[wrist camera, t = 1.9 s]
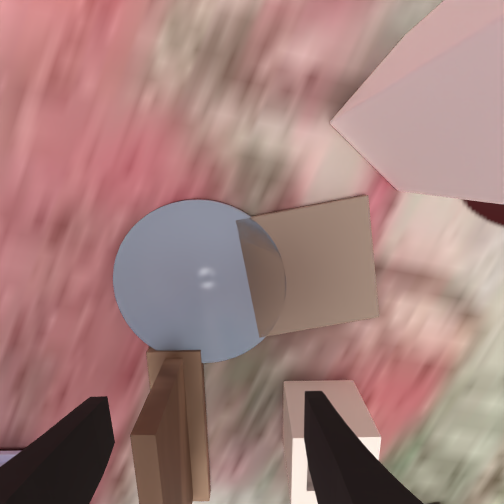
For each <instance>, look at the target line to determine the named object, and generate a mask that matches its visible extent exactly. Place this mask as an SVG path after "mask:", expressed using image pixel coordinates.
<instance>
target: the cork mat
mask: <svg viewBox="0 0 504 504" xmlns="http://www.w3.org/2000/svg"><path fill="white" fill-rule="evenodd" d="M249 219H251V220H254V222H255V223H256V222H257V223H258V225H260V226H261V227H262V228H263V229H264V230H265V232H267V233H265V234H264V233H263V231H262V230H263V229H262V230H261V229H260V230H261V231H262V233H263V234H262V233H261V231H259V229H258V228H257V230H258V232H260V233H257V234H258V235H257V234H256V233H255V231H254V230H255V228H256V227H258V226H255V228H253V229H254V230H252V229H251V230H252V231H250V230H249V231H250V234H251V235H250V234H249V231H247V230H248V229H249V227H250V228H251V227H252V226H253V224H254V223H253V224H251V225H252V226H251V225H249V226H246V227H247V228H246V227H244V226H245V225H246V224H244V223H243V224H242V223H241V220H242V219H241V220H239V221H240V222H239V221H237V220H236V221H237V222H238V223H237V222H236V224H237V226H238V225H239V223H240V225H239V226H238V227H241V229H242V228H243V227H244V228H243V229H244V230H245V228H246V231H243V232H241V231H242V230H243V229H242V230H241V229H240V228H238V227H237V229H238V230H241V231H240V232H241V233H240V234H241V236H242V234H245V232H246V235H247V234H249V235H248V236H247V237H249V240H248V239H246V238H247V237H244V236H246V235H243V237H241V236H240V235H239V239H240V240H242V242H240V244H241V249H243V248H244V249H245V250H244V249H243V250H242V254H243V259H244V264H245V265H247V266H245V269H246V272H247V273H249V272H250V271H251V272H250V274H247V273H246V274H247V279H248V284H249V289H250V293H251V299H252V304H254V305H253V308H254V310H255V309H256V312H255V311H254V313H255V318H256V323H257V322H258V323H257V328H258V333H259V334H260V335H259V338H261V337H266V336H272V335H278V334H284V333H290V332H295V331H301V330H307V329H313V328H319V327H324V326H330V325H336V324H342V323H348V322H353V321H359V320H365V319H371V318H377V317H379V308H378V298H377V287H376V276H375V265H374V254H373V243H372V232H371V221H370V210H369V199H368V195H361V196H356V197H351V198H345V199H340V200H335V201H330V202H324V203H319V204H314V205H308V206H303V207H298V208H292V209H287V210H282V211H276V212H271V213H266V214H260V215H255V216H251V218H249ZM245 221H246V220H244V222H245ZM249 221H250V220H249ZM249 223H250V222H249ZM241 224H242V225H244V226H242V225H241ZM247 224H248V221H247ZM254 225H255V224H254ZM259 228H260V227H259ZM247 232H248V233H247ZM252 232H254V234H256V235H252V234H253V233H252ZM256 232H257V231H256ZM259 234H261V235H259ZM266 234H269V236H270V237H271V239H272V241H273V242H274V243H275V244H274V245H276V247H277V249H278V250H277V251H276V250H275V249H276V247H275V248H274V247H273V246H274V245H273V246H272V244H271V243H270V242H271V241H270V239H269V238H268V239H267V238H264V237H265V236H266ZM262 235H264V237H263V236H262ZM258 236H259V237H260V236H261V237H260V238H261V239H260V238H259V237H258ZM267 236H268V235H267ZM267 236H266V237H267ZM240 237H241V238H243V239H241V238H240ZM256 237H258V238H256ZM262 237H263V238H264V239H266V240H265V242H264V240H263V238H262ZM244 238H245V239H244ZM250 238H251V239H250ZM252 239H253V240H252ZM254 239H256V240H254ZM257 239H258V240H257ZM246 240H247V241H246ZM259 240H260V241H259ZM261 240H263V242H262V241H261ZM267 240H268V241H269V243H270V244H269V243H268V244H267ZM244 241H245V243H244ZM248 241H250V242H252V241H253V242H255V244H254V243H253V244H252V243H250V242H248ZM256 241H257V242H256ZM260 242H262V243H261V244H260ZM257 243H259V245H258V244H257ZM256 245H258V246H256ZM263 245H264V246H263ZM266 245H267V246H266ZM248 247H249V248H248ZM250 247H251V248H250ZM261 247H264V248H261ZM270 247H273V249H274V250H275V252H274V251H272V250H273V249H272V248H270ZM265 248H266V249H265ZM269 248H270V249H269ZM267 249H268V250H269V251H268V250H267ZM271 249H272V250H271ZM252 250H253V251H254V252H253V251H252ZM249 251H250V252H249ZM278 251H279V253H280V254H278ZM244 254H245V255H244ZM252 254H253V255H252ZM258 254H259V255H258ZM246 256H247V257H246ZM258 258H259V259H258ZM281 258H282V259H281ZM247 259H248V260H247ZM265 259H266V260H265ZM272 259H273V260H272ZM280 259H281V260H280ZM245 261H246V262H245ZM248 265H249V266H248ZM246 267H247V268H246ZM255 267H256V268H255ZM283 267H284V268H283ZM254 268H255V269H254ZM284 271H285V272H284ZM263 274H264V275H263ZM254 275H255V277H254ZM285 277H286V278H285ZM250 278H251V279H250ZM252 278H253V279H252ZM284 280H286V281H284ZM253 283H254V284H253ZM256 283H257V284H256ZM255 284H256V285H255ZM264 287H265V288H264ZM252 289H255V290H253V291H252ZM285 289H286V290H285ZM251 291H252V292H251ZM254 291H255V292H254ZM261 292H262V293H261ZM256 296H257V297H256ZM284 298H285V299H284ZM260 299H261V300H260ZM265 300H266V301H265ZM255 301H256V302H255ZM270 304H271V305H270ZM261 311H262V312H261ZM261 313H262V314H261ZM268 313H269V314H268ZM260 319H261V320H260ZM276 320H277V321H276ZM267 327H268V328H267ZM271 327H272V328H271ZM262 328H263V329H262ZM267 329H268V330H267ZM264 330H265V331H264ZM266 330H267V331H268V332H267V331H266ZM267 334H268V335H267ZM263 335H264V336H263Z"/></svg>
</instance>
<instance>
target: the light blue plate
mask: <svg viewBox="0 0 504 504" xmlns="http://www.w3.org/2000/svg"><path fill="white" fill-rule="evenodd" d="M249 218H251V216H250V215H248V214H247V213H245V212H243V211H242V210H240V209H238V208H236V207H233V206H231V205H228V204H225V203H222V202H218V201H213V200H204V199H192V200H183V201H178V202H174V203H171V204H168V205H165V206H163V207H160V208H158V209H156V210H155V211H153V212H151V213H149V214H148V215H146V216H145V217H144V218H142V219H141V220H140V221H139V222H138V223H137V224H136V225H135V226H134V227H132V229H131V230H130V231H129V233H128V234H127V235H126V237H125V238H124V240H123V242H122V244H121V245H120V248H119V250H118V253H117V255H116V259H115V264H114V270H113V287H114V293H115V298H116V301H117V304H118V307H119V310H120V312H121V314H122V316H123V318H124V319H125V321H126V322H127V324H128V325H129V327H130V328H131V329H132V330H133V332H134V333H135V334H136V335H137V336H138V337H139V338H140V339H141V340H142V341H144V342H145V343H146V344H147V345H149V346H150V347H152V348H153V349H155V350H157V351H171V350H201V363H213V362H219V361H225V360H228V359H231V358H234V357H237V356H239V355H241V354H243V353H245V352H247V351H249V350H250V349H252V348H253V347H255V346H256V345H257V344H258V343H260V342H261V341H262V340H263V339H264V338H265V337H261V338H259V335H260V334H259V333H258V328H257V323H258V322H257V323H256V318H255V313H254V311H255V312H256V309H255V310H254V308H253V305H254V304H252V299H251V293H250V289H249V284H248V279H247V274H250V272H251V271H250V272H249V273H247V272H246V269H245V266H247V265H245V264H244V259H243V254H242V250H243V249H244V248H243V249H241V244H240V242H242V240H240V239H239V235H240V236H241V234H240V233H241V232H243V231H246V228H247V227H246V226H249V225H251V224H253V223H254V224H255V225H254V224H253V226H252V225H251V226H252V227H251V228H250V227H249V229H248V230H247V231H249V230H250V231H252V230H254V229H253V228H255V226H258V227H256V228H255V230H254V231H255V233H256V234H257V233H260V232H258V230H257V228H258V229H259V231H261V230H262V229H263V228H262V227H261V226H260V225H258V223H257V222H256V223H255V222H254V220H251V219H249ZM241 219H242V220H241ZM236 220H237V221H239V220H241V223H242V224H243V223H244V224H246V225H245V226H244V225H242V224H241V225H242V226H244V227H246V228H245V230H244V229H243V228H244V227H243V228H242V229H243V230H242V229H241V227H238V226H239V225H240V223H239V225H238V226H237V224H236V222H237V221H236ZM244 220H246V221H245V222H244ZM249 220H250V221H249ZM247 221H248V224H247ZM239 222H240V221H239ZM249 222H250V223H249ZM237 223H238V222H237ZM237 227H238V228H240V229H241V230H242V231H241V230H238V229H237ZM259 227H260V228H259ZM251 229H252V230H251ZM260 229H261V230H260ZM240 231H241V232H240ZM250 231H249V234H250ZM256 231H257V232H256ZM262 231H263V233H264V234H265V233H267V232H265V230H264V229H263V230H262ZM262 231H261V233H262ZM247 233H248V232H247ZM252 233H253V234H252V235H256V234H254V232H252ZM263 233H262V234H263ZM249 234H247V235H246V232H245V234H242V236H241V237H243V235H246V236H244V237H247V236H248V235H249ZM250 235H251V234H250ZM257 235H258V234H257ZM259 235H261V234H259ZM267 235H268V236H267ZM262 236H263V237H264V235H262ZM266 236H267V237H266ZM266 236H265V237H264V238H267V239H268V238H269V239H270V241H271V242H270V243H271V244H272V246H273V245H274V244H275V243H274V242H273V241H272V239H271V237H270V236H269V234H266ZM241 237H240V238H241ZM258 237H259V236H258ZM258 237H256V238H258ZM260 237H261V236H260ZM260 237H259V238H260ZM263 237H262V238H263ZM264 238H263V240H264V242H265V240H266V239H264ZM241 239H243V238H241ZM244 239H245V238H244ZM246 239H248V240H249V237H247V238H246ZM250 239H251V238H250ZM260 239H261V238H260ZM252 240H253V239H252ZM254 240H256V239H254ZM257 240H258V239H257ZM263 240H261V241H262V242H263ZM246 241H247V240H246ZM259 241H260V240H259ZM248 242H250V241H248ZM256 242H257V241H256ZM262 242H260V244H261V243H262ZM244 243H245V241H244ZM250 243H252V244H253V243H254V244H255V242H253V241H252V242H250ZM268 243H269V241H268V240H267V244H268ZM270 243H269V244H270ZM257 244H258V245H259V243H257ZM258 245H256V246H258ZM263 246H264V245H263ZM266 246H267V245H266ZM273 247H274V248H275V247H276V245H274V246H273ZM273 247H270V248H272V249H273ZM248 248H249V247H248ZM250 248H251V247H250ZM261 248H264V247H261ZM270 248H269V249H270ZM265 249H266V248H265ZM272 249H271V250H272ZM244 250H245V249H244ZM267 250H268V249H267ZM275 250H276V251H277V250H278V249H277V247H276V249H275ZM275 250H274V249H273V250H272V251H274V252H275ZM252 251H253V250H252ZM268 251H269V250H268ZM249 252H250V251H249ZM253 252H254V251H253ZM278 254H280V253H279V251H278ZM244 255H245V254H244ZM252 255H253V254H252ZM258 255H259V254H258ZM246 257H247V256H246ZM258 259H259V258H258ZM281 259H282V258H281ZM281 259H280V260H281ZM247 260H248V259H247ZM265 260H266V259H265ZM272 260H273V259H272ZM245 262H246V261H245ZM248 266H249V265H248ZM246 268H247V267H246ZM255 268H256V267H255ZM255 268H254V269H255ZM283 268H284V267H283ZM284 272H285V271H284ZM246 273H247V274H246ZM263 275H264V274H263ZM254 277H255V275H254ZM285 278H286V277H285ZM250 279H251V278H250ZM252 279H253V278H252ZM284 281H286V280H284ZM253 284H254V283H253ZM256 284H257V283H256ZM256 284H255V285H256ZM264 288H265V287H264ZM253 290H255V289H252V291H253ZM285 290H286V289H285ZM252 291H251V292H252ZM254 292H255V291H254ZM261 293H262V292H261ZM256 297H257V296H256ZM284 299H285V298H284ZM260 300H261V299H260ZM265 301H266V300H265ZM255 302H256V301H255ZM270 305H271V304H270ZM261 312H262V311H261ZM261 314H262V313H261ZM268 314H269V313H268ZM260 320H261V319H260ZM276 321H277V320H276ZM267 328H268V327H267ZM271 328H272V327H271ZM262 329H263V328H262ZM267 330H268V329H267ZM267 330H266V331H267ZM264 331H265V330H264ZM267 332H268V331H267ZM267 335H268V334H267ZM263 336H264V335H263Z"/></svg>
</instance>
